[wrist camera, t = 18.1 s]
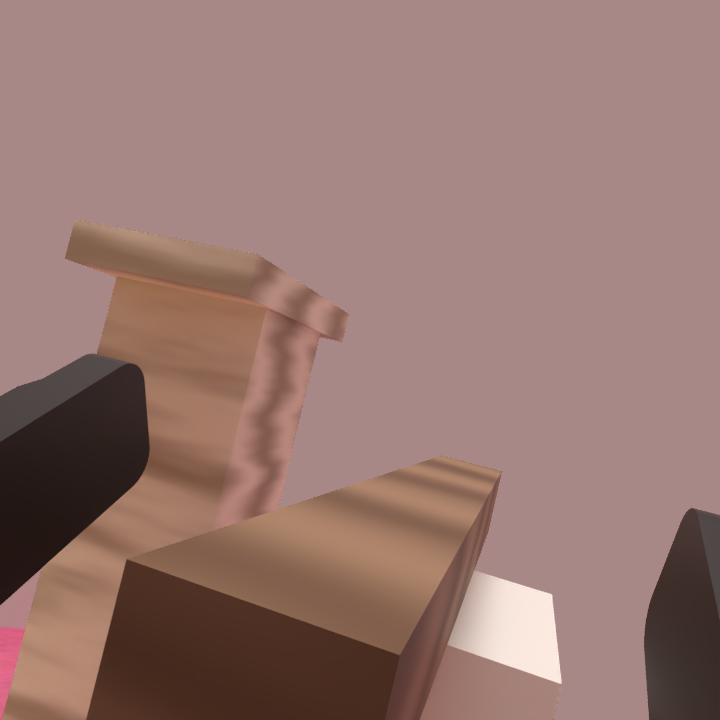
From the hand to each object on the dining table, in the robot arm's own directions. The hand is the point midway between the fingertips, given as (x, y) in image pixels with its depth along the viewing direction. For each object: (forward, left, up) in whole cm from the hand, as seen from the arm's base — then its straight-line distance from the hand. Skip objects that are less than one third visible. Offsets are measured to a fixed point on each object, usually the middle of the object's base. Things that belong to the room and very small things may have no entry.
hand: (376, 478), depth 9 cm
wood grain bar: (-6, +8, -4) cm, 11 cm away
